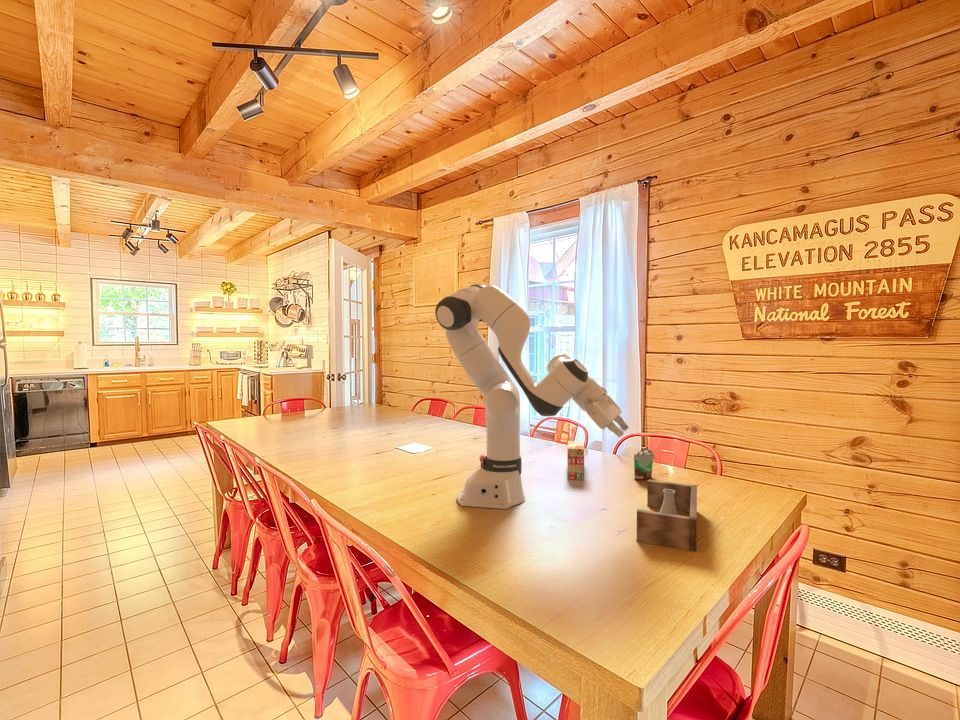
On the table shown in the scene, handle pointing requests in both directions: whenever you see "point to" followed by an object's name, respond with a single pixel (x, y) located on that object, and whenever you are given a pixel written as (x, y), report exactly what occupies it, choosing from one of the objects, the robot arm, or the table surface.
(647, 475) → the food container
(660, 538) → the u-shaped enclosure
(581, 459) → the stack of blocks
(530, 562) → the table surface
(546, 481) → the table surface
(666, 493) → the flask
